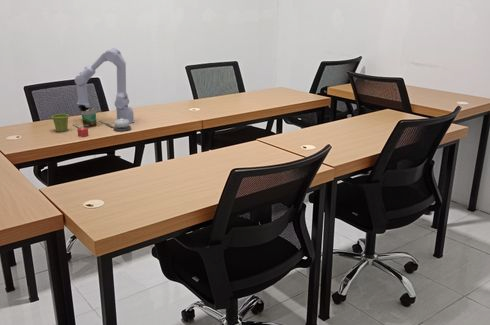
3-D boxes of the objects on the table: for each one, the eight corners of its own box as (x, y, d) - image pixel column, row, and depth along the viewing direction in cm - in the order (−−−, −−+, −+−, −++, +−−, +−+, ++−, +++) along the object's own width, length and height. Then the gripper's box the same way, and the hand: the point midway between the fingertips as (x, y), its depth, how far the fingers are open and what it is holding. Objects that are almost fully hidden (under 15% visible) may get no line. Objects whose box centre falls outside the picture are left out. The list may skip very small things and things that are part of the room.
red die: (84, 134, 277) (83, 126, 275) (88, 135, 274) (87, 128, 273) (78, 135, 274) (77, 128, 272) (82, 137, 271) (81, 129, 270)
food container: (92, 128, 288) (90, 111, 285) (82, 128, 289) (80, 111, 286) (102, 123, 300) (100, 107, 296) (92, 122, 301) (91, 106, 297)
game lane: (101, 120, 306) (101, 119, 305) (114, 127, 291) (114, 126, 290) (72, 125, 295) (72, 124, 295) (84, 132, 280) (84, 131, 280)
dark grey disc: (126, 126, 294) (126, 124, 293) (133, 129, 286) (133, 127, 286) (110, 128, 288) (110, 126, 288) (117, 132, 281) (117, 130, 280)
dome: (125, 123, 292) (125, 116, 290) (131, 126, 286) (130, 119, 284) (112, 125, 287) (112, 118, 286) (118, 128, 281) (117, 121, 280)
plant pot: (64, 133, 279) (63, 118, 276) (49, 132, 281) (47, 117, 278) (73, 128, 288) (72, 114, 285) (58, 127, 289) (57, 113, 287)
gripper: (72, 93, 301) (74, 115, 305) (80, 97, 290) (82, 120, 294) (83, 92, 305) (85, 113, 309) (92, 96, 294) (94, 118, 298)
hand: (84, 117), depth 302 cm, fingers closed
